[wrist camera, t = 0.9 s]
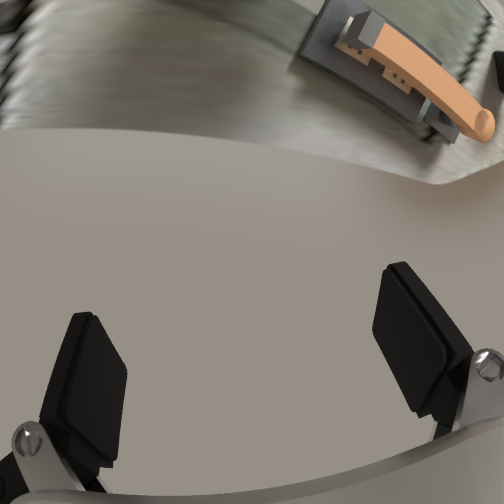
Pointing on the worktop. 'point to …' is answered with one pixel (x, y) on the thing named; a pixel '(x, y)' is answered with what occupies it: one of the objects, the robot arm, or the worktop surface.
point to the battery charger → (500, 68)
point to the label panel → (359, 59)
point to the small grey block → (442, 123)
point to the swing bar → (420, 73)
